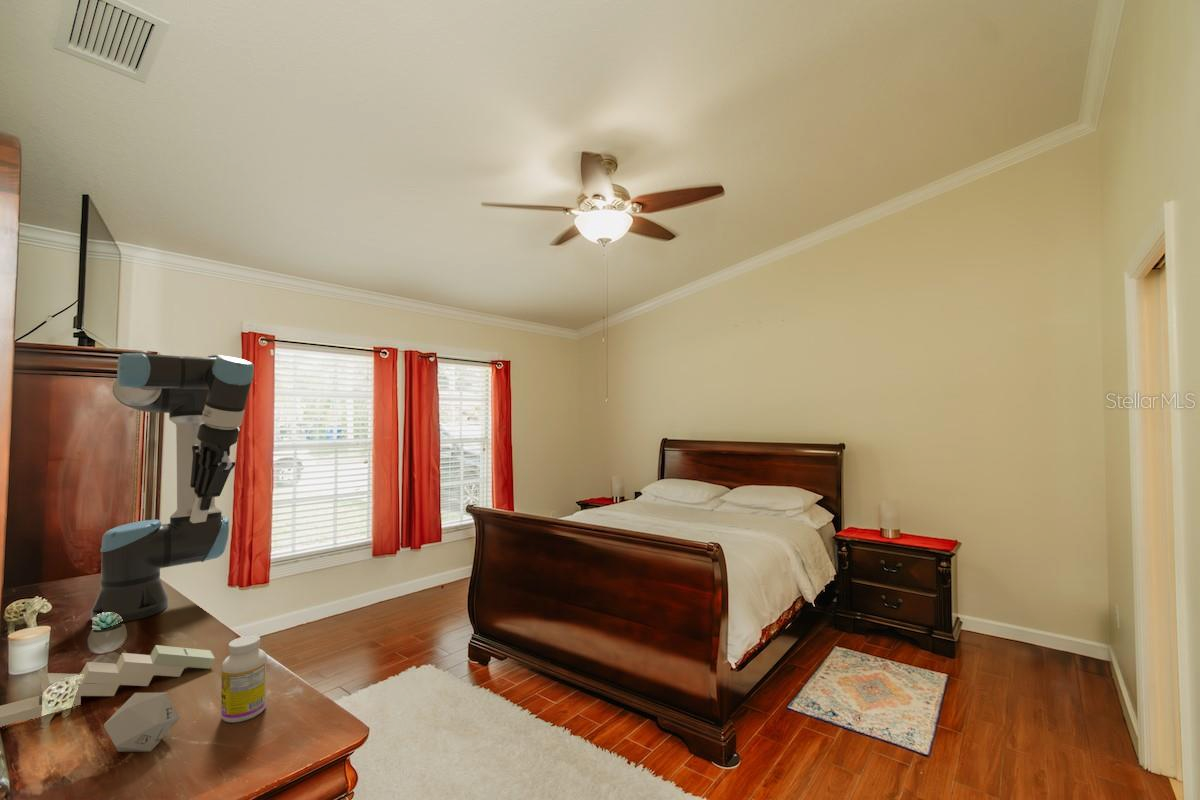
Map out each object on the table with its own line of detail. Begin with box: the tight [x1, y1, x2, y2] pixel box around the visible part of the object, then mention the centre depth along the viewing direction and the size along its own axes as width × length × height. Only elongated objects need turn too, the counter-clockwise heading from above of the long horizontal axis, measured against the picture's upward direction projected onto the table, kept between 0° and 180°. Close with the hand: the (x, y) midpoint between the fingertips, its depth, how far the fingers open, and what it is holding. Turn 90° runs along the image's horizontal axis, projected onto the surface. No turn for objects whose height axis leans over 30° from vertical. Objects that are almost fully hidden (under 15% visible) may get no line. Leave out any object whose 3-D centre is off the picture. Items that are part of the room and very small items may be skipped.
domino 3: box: [115, 652, 185, 678], centre depth 105 cm, size 2×5×10 cm
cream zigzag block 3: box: [80, 661, 154, 687], centre depth 101 cm, size 2×5×10 cm
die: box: [103, 691, 181, 753], centre depth 84 cm, size 8×9×10 cm
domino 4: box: [149, 644, 216, 670], centre depth 108 cm, size 2×5×10 cm
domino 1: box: [0, 694, 82, 727], centre depth 94 cm, size 2×5×10 cm
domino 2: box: [40, 672, 120, 697], centre depth 97 cm, size 2×5×10 cm
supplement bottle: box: [220, 634, 267, 724], centre depth 93 cm, size 7×7×13 cm
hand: (197, 521), depth 122 cm, fingers closed
